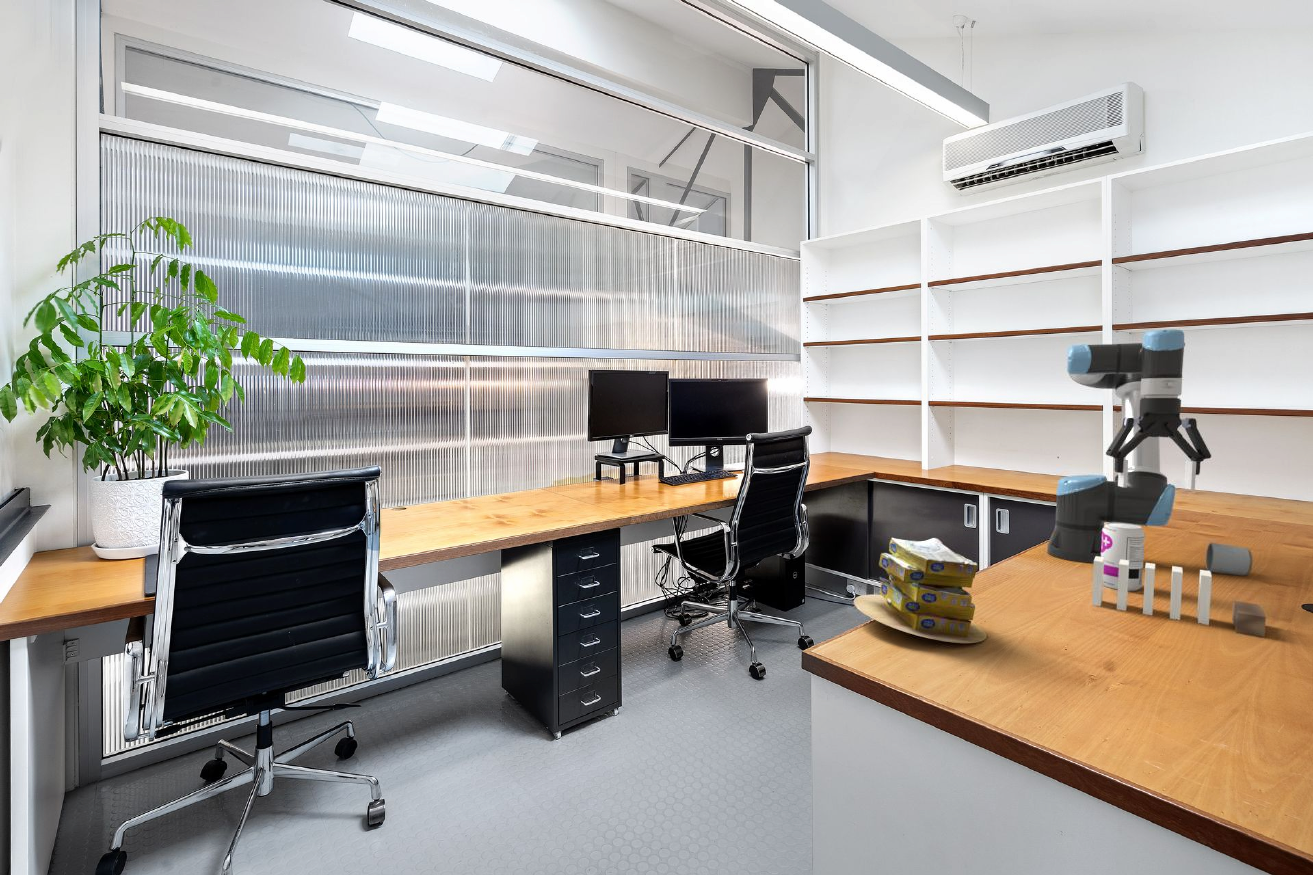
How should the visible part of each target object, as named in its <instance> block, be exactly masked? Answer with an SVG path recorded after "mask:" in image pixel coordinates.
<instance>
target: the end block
mask: <svg viewBox="0 0 1313 875" xmlns="http://www.w3.org/2000/svg"><path fill="white" fill-rule="evenodd" d="M1231 618H1232V619H1231V620H1232V622H1233V626H1234V630H1235V632H1236V633H1237V634H1243V635H1248V636H1254V637H1260V638H1265V636H1266V634H1265V633H1266V621H1267V616H1266V614H1265V612H1264V610H1263V608H1262V606H1261V604H1257V603H1250V602H1243V601H1238V600H1237V601H1236V600H1233V604H1232V617H1231Z"/></svg>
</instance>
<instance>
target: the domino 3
mask: <svg viewBox="0 0 1313 875" xmlns="http://www.w3.org/2000/svg"><path fill="white" fill-rule="evenodd" d="M1144 569H1145V570H1144V584H1143V603H1142V604H1143V605H1142V615H1148V616H1153V612H1154V611H1153V609H1154V593H1155V592H1154V591H1155V590H1154V588H1155V574H1156V573H1155V571H1156V563H1152V562H1151V563H1150V562H1145V567H1144Z"/></svg>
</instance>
